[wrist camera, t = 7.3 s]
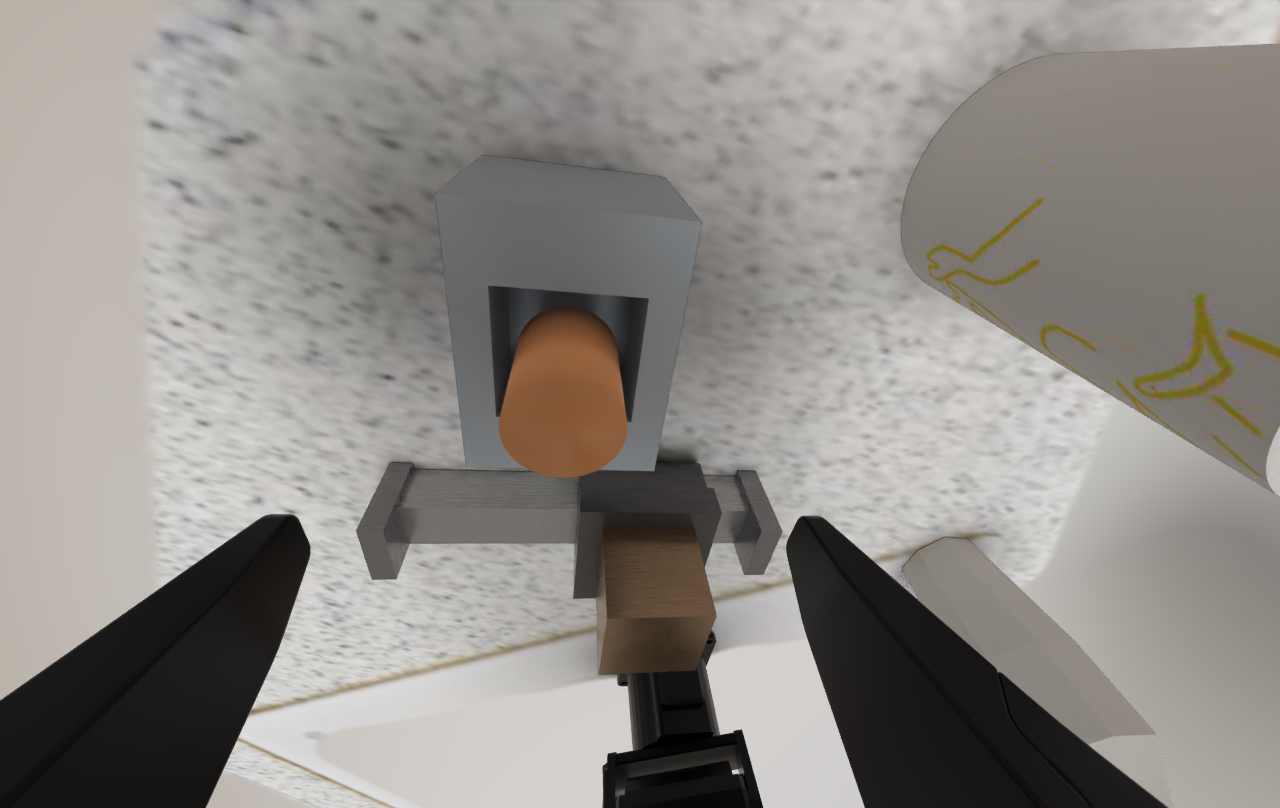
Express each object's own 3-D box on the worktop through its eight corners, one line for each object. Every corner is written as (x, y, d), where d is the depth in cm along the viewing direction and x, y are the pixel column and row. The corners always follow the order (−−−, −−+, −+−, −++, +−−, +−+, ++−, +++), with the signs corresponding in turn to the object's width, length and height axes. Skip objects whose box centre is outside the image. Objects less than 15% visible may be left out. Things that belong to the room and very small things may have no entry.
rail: (740, 512, 26) (763, 574, 23) (401, 509, 24) (371, 579, 20) (755, 471, 24) (782, 531, 21) (389, 462, 22) (355, 530, 18)
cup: (858, 218, 17) (1209, 399, 8) (1069, -15, 14) (2182, -219, 4) (969, 327, 21) (1315, 551, 11) (1162, 160, 17) (1910, 270, 8)
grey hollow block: (636, 376, 20) (654, 471, 16) (494, 368, 19) (465, 467, 15) (665, 177, 16) (702, 222, 11) (482, 154, 15) (435, 192, 10)
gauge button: (612, 395, 14) (620, 479, 11) (518, 391, 14) (501, 476, 11) (622, 310, 13) (634, 380, 10) (515, 302, 12) (495, 373, 9)
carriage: (681, 533, 26) (713, 681, 20) (574, 533, 25) (572, 688, 19) (702, 452, 23) (749, 599, 17) (580, 449, 22) (579, 602, 16)
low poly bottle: (1006, 545, 31) (1590, 1189, 13) (928, 596, 34) (1321, 1185, 16) (950, 516, 28) (1573, 1260, 11) (872, 574, 31) (1260, 1240, 13)
